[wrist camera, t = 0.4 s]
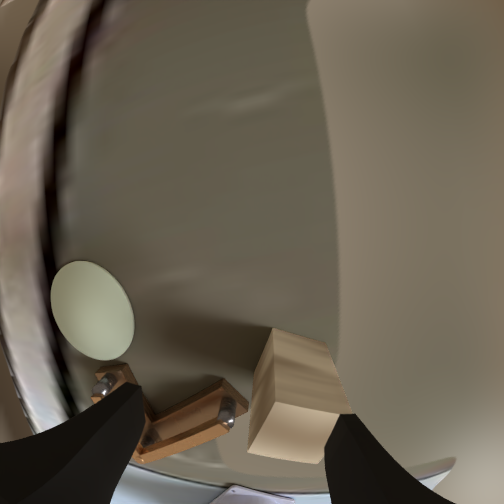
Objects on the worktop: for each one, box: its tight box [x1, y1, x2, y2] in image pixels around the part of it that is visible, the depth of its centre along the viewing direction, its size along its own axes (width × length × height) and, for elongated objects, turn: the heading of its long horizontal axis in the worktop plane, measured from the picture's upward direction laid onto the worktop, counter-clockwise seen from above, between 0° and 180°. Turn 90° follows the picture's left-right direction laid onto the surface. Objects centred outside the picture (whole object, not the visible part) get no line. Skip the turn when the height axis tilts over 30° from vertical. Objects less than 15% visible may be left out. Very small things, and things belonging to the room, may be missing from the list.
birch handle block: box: [247, 328, 352, 464], centre depth 16 cm, size 4×4×8 cm
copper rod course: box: [91, 364, 249, 464], centre depth 19 cm, size 12×12×4 cm
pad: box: [51, 261, 135, 360], centre depth 20 cm, size 8×8×1 cm
